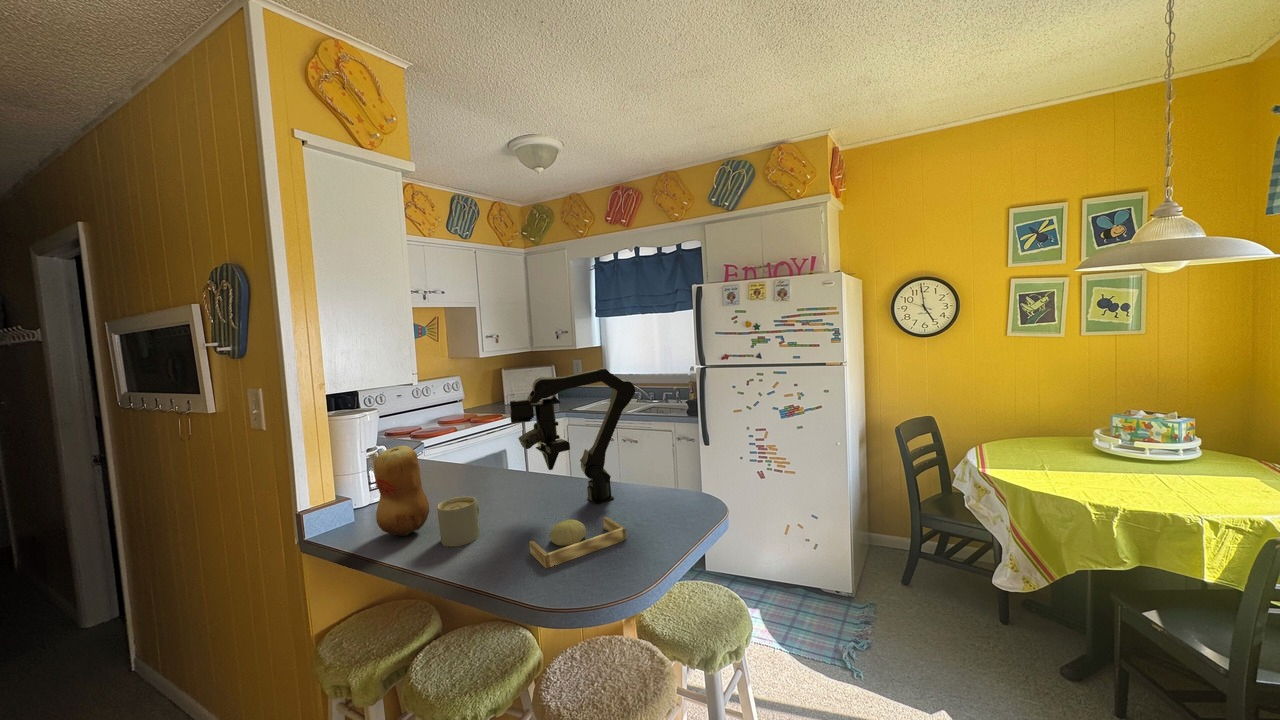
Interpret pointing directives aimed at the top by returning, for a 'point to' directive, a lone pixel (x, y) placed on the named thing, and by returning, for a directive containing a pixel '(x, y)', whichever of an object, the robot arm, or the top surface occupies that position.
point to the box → (580, 545)
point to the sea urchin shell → (567, 532)
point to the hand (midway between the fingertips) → (550, 469)
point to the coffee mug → (458, 521)
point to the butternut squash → (400, 491)
